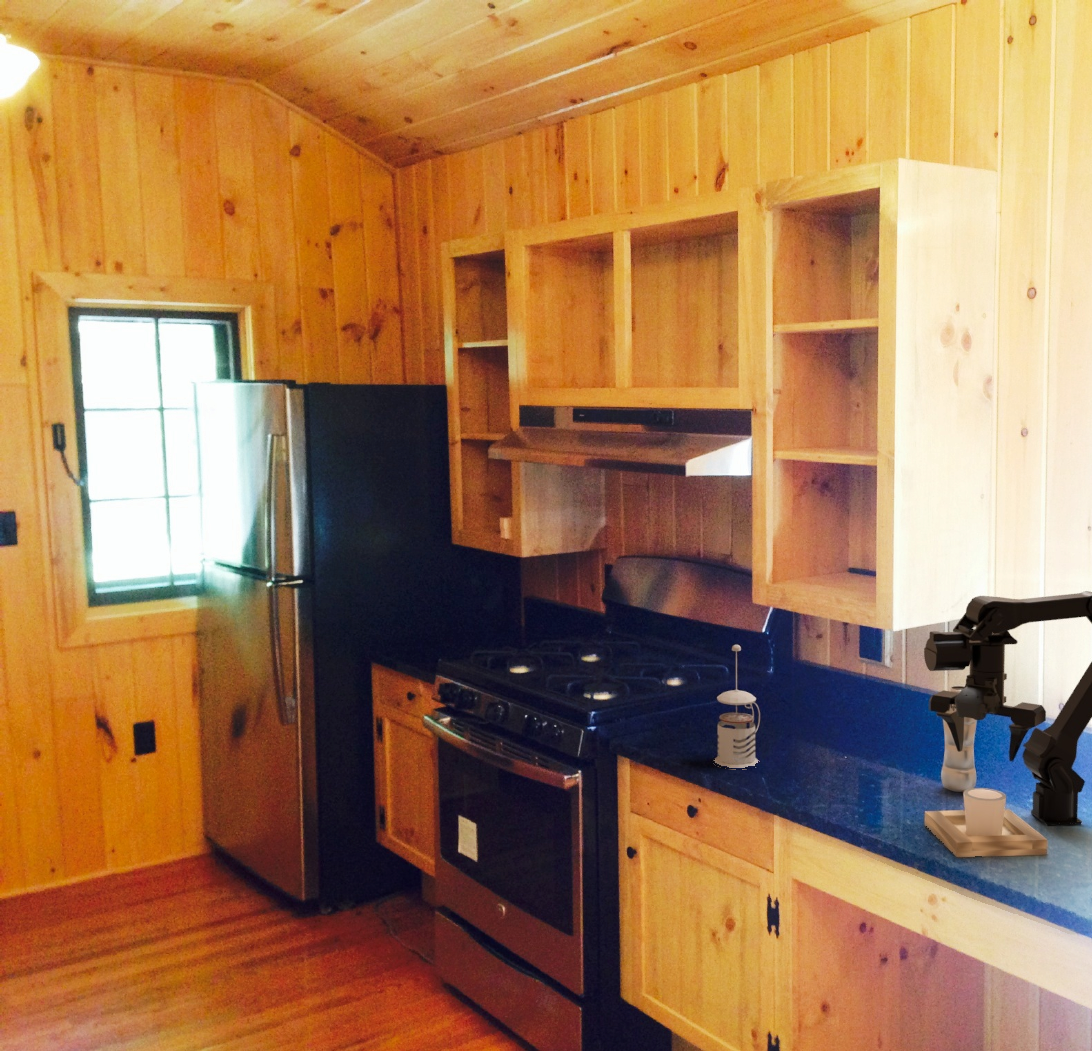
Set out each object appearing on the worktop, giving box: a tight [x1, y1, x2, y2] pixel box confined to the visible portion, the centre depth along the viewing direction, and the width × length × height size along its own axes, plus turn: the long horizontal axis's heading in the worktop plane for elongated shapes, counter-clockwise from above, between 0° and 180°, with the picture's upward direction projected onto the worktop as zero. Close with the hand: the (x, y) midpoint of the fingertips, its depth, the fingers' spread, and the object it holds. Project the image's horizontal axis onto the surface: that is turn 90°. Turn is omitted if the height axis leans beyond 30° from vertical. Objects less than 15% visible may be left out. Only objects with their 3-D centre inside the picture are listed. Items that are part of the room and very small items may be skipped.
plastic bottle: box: [940, 685, 978, 793], centre depth 225 cm, size 6×7×20 cm
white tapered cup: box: [962, 787, 1007, 836], centre depth 200 cm, size 7×7×7 cm
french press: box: [713, 644, 761, 768], centre depth 245 cm, size 10×12×25 cm
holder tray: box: [924, 808, 1049, 858], centre depth 200 cm, size 15×15×2 cm
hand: (985, 755), depth 208 cm, fingers open, 9 cm apart
